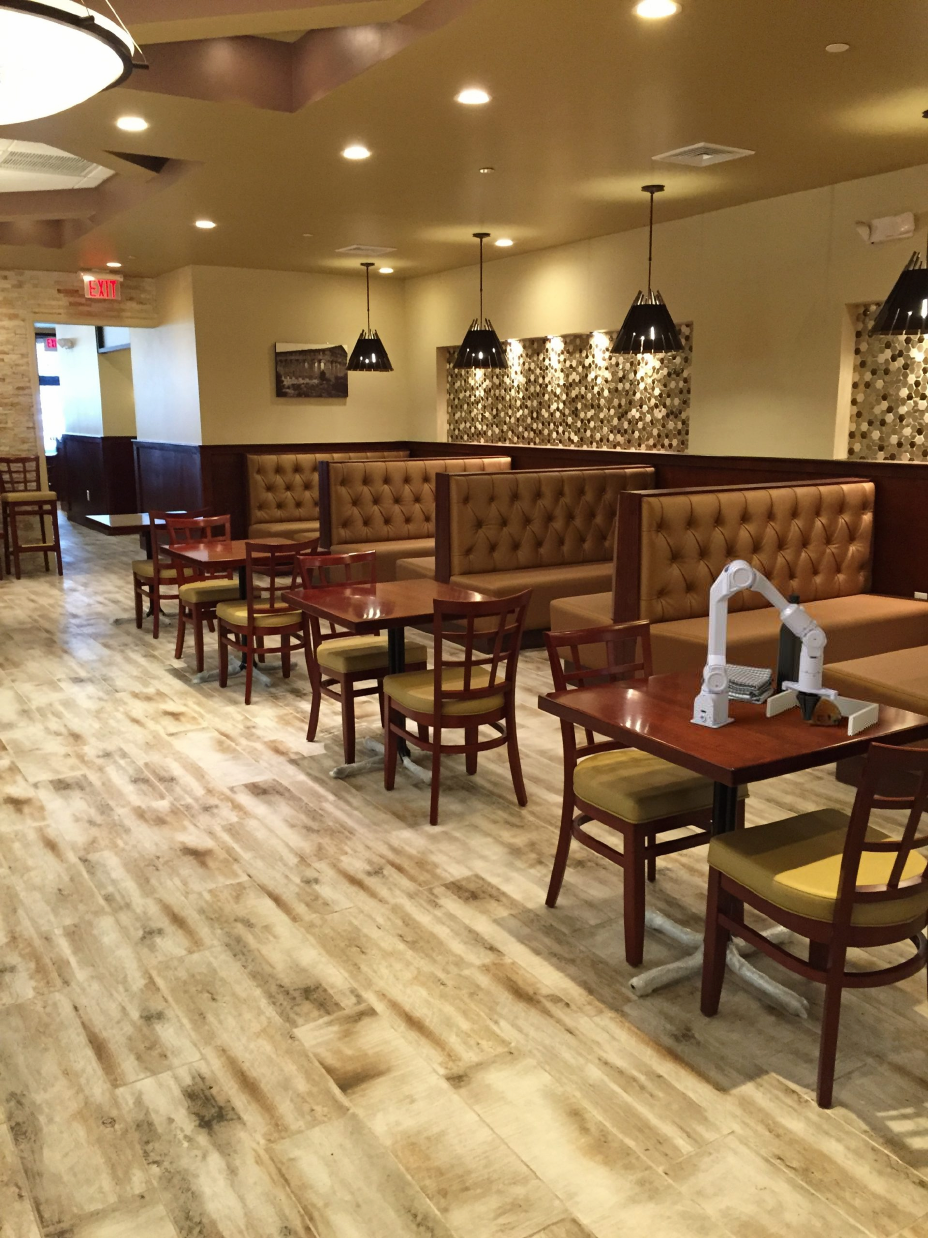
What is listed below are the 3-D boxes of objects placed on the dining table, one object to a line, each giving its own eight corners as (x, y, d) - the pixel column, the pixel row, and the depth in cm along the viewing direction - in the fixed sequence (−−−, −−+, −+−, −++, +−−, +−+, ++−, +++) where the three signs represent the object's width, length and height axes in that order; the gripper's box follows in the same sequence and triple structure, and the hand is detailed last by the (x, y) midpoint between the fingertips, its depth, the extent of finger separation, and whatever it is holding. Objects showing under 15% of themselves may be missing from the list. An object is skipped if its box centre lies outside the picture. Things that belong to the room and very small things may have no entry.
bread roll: (830, 728, 274) (825, 699, 276) (851, 723, 264) (846, 693, 266) (798, 731, 272) (793, 702, 274) (818, 726, 262) (812, 696, 264)
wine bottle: (774, 694, 294) (780, 594, 288) (785, 690, 298) (792, 592, 292) (790, 698, 290) (796, 597, 284) (802, 695, 293) (808, 595, 287)
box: (851, 735, 256) (852, 717, 255) (766, 716, 273) (767, 698, 272) (877, 722, 268) (878, 704, 266) (794, 704, 284) (795, 687, 283)
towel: (717, 685, 305) (718, 660, 304) (776, 694, 295) (778, 668, 294) (699, 696, 293) (700, 671, 291) (761, 706, 283) (762, 680, 281)
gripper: (844, 672, 259) (840, 722, 262) (792, 663, 269) (789, 711, 272) (832, 677, 254) (828, 728, 257) (779, 667, 264) (776, 716, 267)
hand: (807, 720), depth 264 cm, fingers closed
